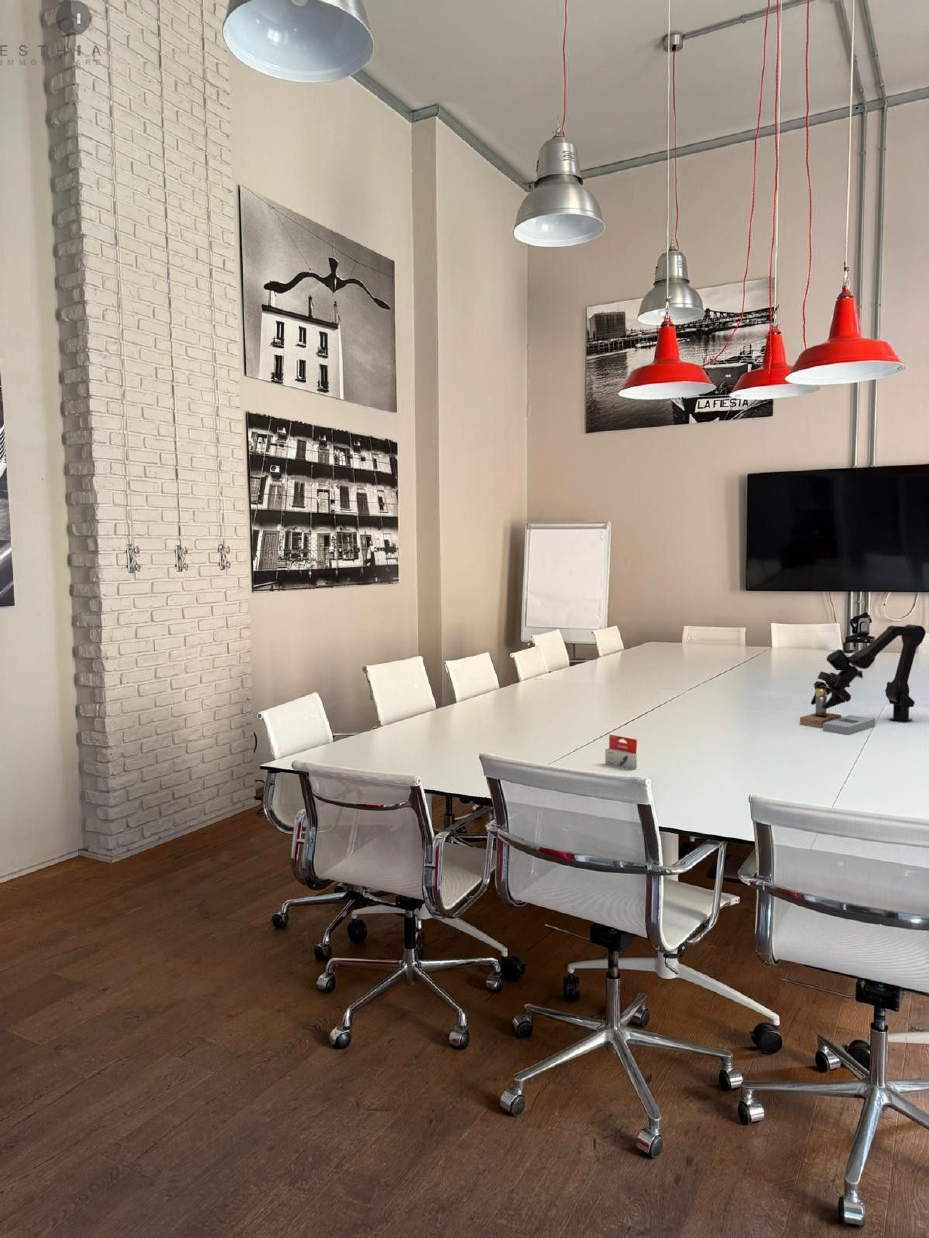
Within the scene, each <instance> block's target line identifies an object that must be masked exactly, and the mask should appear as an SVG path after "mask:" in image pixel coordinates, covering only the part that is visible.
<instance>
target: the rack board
mask: <svg viewBox="0 0 929 1238" xmlns="http://www.w3.org/2000/svg"><path fill="white" fill-rule="evenodd" d="M875 726H876V719H875V718H870V717H865V716H858V715H851V714H850V715H846V716H841V718H839V719H835V720H832V721H828V722H825V723H823V728H822V731H823V732H829V733H835V734H841V735H847V736H850V735H853V734H856V733H858V732H862V731H865V730H868V729H872V728H874V727H875Z"/></svg>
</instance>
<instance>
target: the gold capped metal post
mask: <svg viewBox="0 0 929 1238" xmlns="http://www.w3.org/2000/svg"><path fill="white" fill-rule="evenodd" d="M815 692H816V704H815V713H816V714H815V717H821V718H826V713H827V709H824V708H823V707H824V705H825V704H826V703H827V701H828V700H827V697H828V695H827V689H823V688H817V689H816V691H815Z"/></svg>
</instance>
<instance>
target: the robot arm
mask: <svg viewBox="0 0 929 1238" xmlns="http://www.w3.org/2000/svg"><path fill="white" fill-rule="evenodd" d="M926 633H927V631H926V629H925V627H923V626H922V625H918V624H917V625H916V624H906V625H903V626H902V625H901V626H900V625H892V624H891V625H888V626H887V627H886V629H885V630H884V631H883V632H882V633H881V634H880V635H879V636H877V637H876V638H875V639H874V640H873V641H872V642H871V643H869V644H868V645H867V646H866V647H863V648H862V649H859V650H858V651H856V652H854V653H852V654H851V655H850V656H849V655H848V656H847V655H846V654H845V653H844V651H843V650H842V649H837V650H835V651H833V652H832V653H829V654H828V655H827V657H826V661H827V662H828V663H829V664H830V665H831V667H833V668H834V670H835V671H839V672H838V673H837V674H836V673H834V672H830V673H829V672H825V671H820V672H819V674H818V676H817V679H818V680H817V681H815V682H814V683H813V687H814V689H815V693H814V695H813V697H812V699H811V702H810V704H811V705H812V706H814V705H816V689H817V688H823V689H827V696H828V695H830V694H831V696H830V697H829V698H828V700H827V703H826V704H825V705H824V707H823V708H824V709H826V710H827V709H830V708H832V707H835V706H838V705H841V704H844V703H849V702H850V700H851V699H852V695H851V694H850V693H849V692H848V691H847V690H846V688H848V689H849V688H850V687H851V685H850V684H851V683H852V681H854V680H855V679H856V678H859V679H863V677H864V676H863V671H862V670H865V669H868V668H870V667H871V665H872V664H874V662H875V660H876V657H877V656H878V654H879V653H881V652H882V651H883V650H884V649H885V648H886V647H887V646H888V645H890V643H892V642H893V641H895V639H896V638H897V637H901V642H902V649H901V652H900V657H899V660H898V664H897V668H896V671H895V675H894V678H893V680H892V681H891V682H890V681H887V682H886V687H885V690H884V692H885V697H886V698H887V699H888V703H889V704H890V705H893V707H892V708H893V709H892V713H893V714H892V717H890V718H889V720H890V721H896V722H902V723H907V722H910V721H913V718H910V708H914V705H915V700H913V699H912V697H911V696H910V687H909V682H908V681H909V677H910V674H911V670H912V666H913V663H914V659H915V656H916V651H917V648H919V646H920V645H921V644H922V643H923V641H924V638H925V637H926ZM858 669H862V670H858ZM819 680H820V681H819Z"/></svg>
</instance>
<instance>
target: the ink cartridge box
mask: <svg viewBox="0 0 929 1238" xmlns="http://www.w3.org/2000/svg"><path fill="white" fill-rule="evenodd" d="M608 736H609V738H608V739H609V740H608V741H609V742H608V748H605V751H604V752H605V753H604V756H605V758H604V759H605V763H606V764H605V765H608V764H609V765H608V766H612V765H614V766H613V767H616V768H617V767H618V768H621V767H625V768H624V769H626V768H628V769H627V770H630V769H631V771H634V770H637V769H636V768H637V767H638V763H637V761H638V760H637V758H638V757H637V755H638V754H637V749H638V748H637V747H638V746H637V745H638V739H636V738H629V737H625V736H619V735H615V734H609V735H608ZM620 740H624V741H625V742H621V741H620Z"/></svg>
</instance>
